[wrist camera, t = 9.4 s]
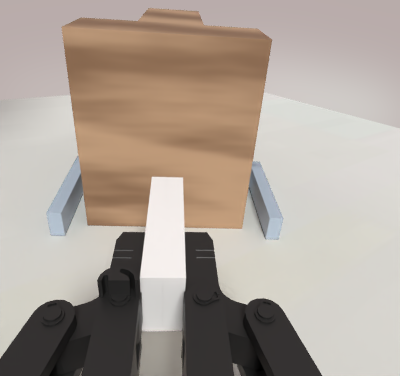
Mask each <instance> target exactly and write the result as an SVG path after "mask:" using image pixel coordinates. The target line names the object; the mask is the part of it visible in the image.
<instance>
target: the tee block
mask: <svg viewBox="0 0 400 376" xmlns="http://www.w3.org/2000/svg"><path fill="white" fill-rule="evenodd" d="M62 34H63V41H64V49H65V57H66V64H67V72H68V79H69V87H70V94H71V102H72V110H73V117H74V125H75V132H76V140H77V147H78V155H79V163H80V170H81V178H82V185H83V193H84V200H85V208H86V216H87V223H88V225H102V226H146V222H147V214H148V206H149V197H150V189H151V180H152V177H182V178H183V195H184V227H192V228H237V229H242V225H243V219H244V212H245V206H246V200H247V194H248V187H249V181H250V175H251V168H252V162H253V156H254V150H255V143H256V137H257V131H258V125H259V118H260V112H261V106H262V99H263V93H264V86H265V81H266V74H267V68H268V62H269V55H270V49H271V42H272V39H270V38H269V37H268V36H266V35H265V34H264V33H262V32H261V31H260V30H259V29H252V28H237V27H221V26H220V27H219V26H205V25H204V24H203V22H202V19H201V17H200V14H199V12H198V11H184V10H169V9H153V8H149V9H148V10H147V11H146V12H145V13H144V14H143V16H142V17H141V18H140V19H139V20H138V21H126V20H111V19H95V18H79V19H77V20H75V21H73V22H71V23H69V24H67V25H65V26H62Z"/></svg>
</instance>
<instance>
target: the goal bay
mask: <svg viewBox="0 0 400 376" xmlns="http://www.w3.org/2000/svg"><path fill="white" fill-rule="evenodd" d="M249 189H250V192H251V195H252V198H253V201H254V204H255V207H256V210H257V214H258V217H259V220H260V223H261V226H262V229H263V232H264V236H265V239H279V234H280V230H281V226H282V222H283V217H282V214H281V212H280V209H279V207H278V204H277V202H276V200H275V197H274V195H273V192H272V190H271V188H270V185H269V183H268V180H267V178H266V176H265V173H264V171H263V168H262V166H261V164H260V162H252V168H251V175H250V181H249ZM82 195H83V185H82V178H81V170H80V163H79V156H77V158H76V160H75V162H74V164H73V165H72V167H71V169H70V171H69V173H68V175H67V176H66V178H65V180H64V182H63V184H62V185H61V187H60V189H59V191H58V193H57V195H56V196H55V198H54V200H53V202H52V204H51V206H50V207H49V209H48V211H47V213H46V214H47V219H48V224H49V228H50V233H51V235H65V234H66V232H67V229H68V227H69V225H70V223H71V220H72V218H73V216H74V213H75V211H76V209H77V206H78V204H79V202H80V199H81V197H82Z"/></svg>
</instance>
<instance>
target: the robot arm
mask: <svg viewBox="0 0 400 376" xmlns="http://www.w3.org/2000/svg"><path fill="white" fill-rule="evenodd" d="M97 282H98V289H99V297H98V298H96V299H94V300H93V301H90V302H88V303H85V304H81V305H77V306H74V307H73V306H72V304H71V303H70V302H67V301H65V300H53V301H49V302H46V303H45V304H43V305H41V306H39V307H38V308H37V309H36V310H35V311H34V313H33V314H32V315H31V317H30V318H29V319H28V321H27V322H26V324H25V325H24V326H23V328H22V329H21V331H20V332H19V333H18V335H17V336H16V338H15V339H14V340H13V342H12V343H11V345H10V346H9V347H8V349H7V350H6V351H5V353H4V354H3V356H2V357H1V358H0V376H79V375H80V373H81V371H82V368H83V372H82V376H139V367H140V356H141V332H142V331H183V339H182V356H181V358H182V376H234V372H233V364H232V363H235V364H237V367H238V369H239V372H240V374H241V376H322V375H321V373H320V371H319V370H318V368H317V366H316V365H315V363H314V361H313V360H312V358H311V356H310V355H309V353H308V351H307V350H306V348H305V346H304V345H303V343H302V341H301V340H300V338H299V336H298V335H297V333H296V331H295V330H294V328H293V326H292V325H291V323H290V321H289V320H288V318H287V316H286V315H285V313H284V311H283V310H282V309H281V307H280V306H279V305H278V304H276V303H275V302H273V301H271V300H268V299H264V298H263V299H255V300H252V301H250V302H249V304H248V305H246V304H242V303H239V302H236V301H233V300H231V299H229V298H228V297H226V296H225V295H224V294H223V293H222V291H221V290H220V287H219V283H218V276H217V268H216V261H215V253H214V246H213V240H212V239H211V237H210V236H209V235H208V233H207V232H185V229H184V195H183V178H182V177H152V180H151V189H150V197H149V206H148V214H147V222H146V231H145V232H123V233H122V234H121V235H120V237H119V238H118V239H117V240H116V244H115V249H114V253H113V259H112V262H111V267H110V268H109V269H107V270H105V271H104V272H103V273H102V274H100V276H99V278H98V280H97Z"/></svg>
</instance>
